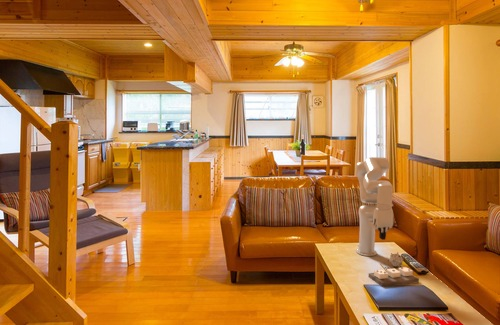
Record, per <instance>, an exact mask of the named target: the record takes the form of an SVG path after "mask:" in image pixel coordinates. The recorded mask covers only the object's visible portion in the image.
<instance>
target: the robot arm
mask: <svg viewBox="0 0 500 325" xmlns="http://www.w3.org/2000/svg"><path fill="white" fill-rule="evenodd" d="M389 169H390V161H389V159H387V158H386V157H381V156H380V157H376V156H375V157H372V156H371V157H367V158H366V159H365V160H364V161H359V162H357V163H356V164H355V174H356V178H357V180H358V183H359V198H360V199H359V200H360V201H361V202H362V203H363V205H361V206H359V208H358V217H359V218H358V219H359V234H358V235H359V236H358V238H359V239H358V240H359V241H358V243H357V246H358V248H357V249H356V250H355V251H356V253H357V254H359V255H361V256H365V257H374V256H377V254H378V251H376V250H375V242H376V230H377V231H378V232H379V233H378V234H379V238H378V239H380V240H382V241H383V240H384V241H386V239H387V233H388V231H389V230H390V229H392V228H393V226H394V210H393V208H392V207H394V203H393V192H394V191H393V190H394V186H393V184H392V183H391V182H390V181H389V180H380V179H382V177H383V175H384V174H385V173H387V171H389Z"/></svg>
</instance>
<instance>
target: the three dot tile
mask: <svg viewBox="0 0 500 325" xmlns="http://www.w3.org/2000/svg"><path fill="white" fill-rule="evenodd" d="M373 273H374V275H375V276H376V277H377V278H379V279H385V278H388V273H387V272H386V270H383V269H377V270H374V271H373Z"/></svg>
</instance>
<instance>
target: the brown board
mask: <svg viewBox="0 0 500 325" xmlns="http://www.w3.org/2000/svg"><path fill="white" fill-rule="evenodd" d="M368 278H369V279H371V280H372V281H373V282H374V283H376V284H378V285H379V286H380V287H381V288H382V287H383V286H384V287H391V286H399V285H400V286H401V285H408V284H409V285H410V284H418V283H419V282H420V280H419V277H417V276H416V275H414V274H413V275H411V276H403V275H402V274H401V276H400V277H394V278H392V277H390V276H389V275H388V278H385V279H379V278H377V277H376V276H375V275H374V272H370V273H368Z"/></svg>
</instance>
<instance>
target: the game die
mask: <svg viewBox="0 0 500 325" xmlns="http://www.w3.org/2000/svg"><path fill="white" fill-rule="evenodd" d="M404 261H405V258H403V257H402V256H401V255H400V254H399V252H397V253H390V257H389V260H388V262H389V263H390V264H391V266H393V269H394V268H395V269H396V267H399V268H402V265H403V262H404Z"/></svg>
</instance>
